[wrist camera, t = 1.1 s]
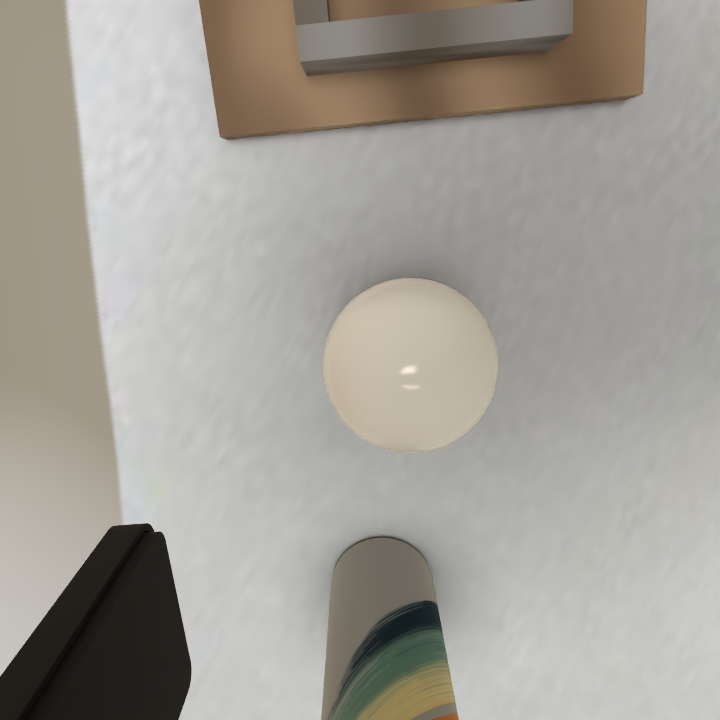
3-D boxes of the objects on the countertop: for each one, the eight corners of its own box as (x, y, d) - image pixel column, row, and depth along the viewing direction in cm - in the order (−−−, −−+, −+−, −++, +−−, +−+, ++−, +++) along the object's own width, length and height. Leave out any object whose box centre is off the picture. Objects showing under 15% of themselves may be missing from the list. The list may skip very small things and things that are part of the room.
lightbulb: (305, 316, 29) (274, 391, 18) (400, 225, 28) (425, 250, 17) (392, 403, 30) (410, 520, 20) (487, 320, 29) (560, 398, 18)
